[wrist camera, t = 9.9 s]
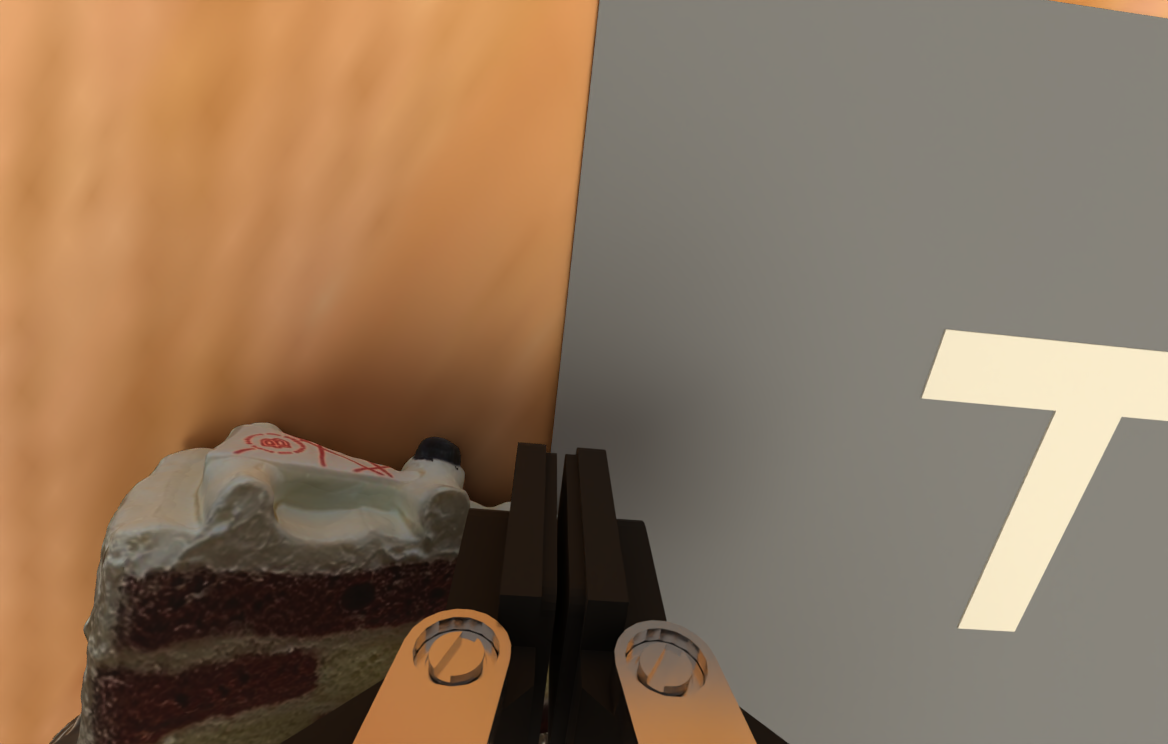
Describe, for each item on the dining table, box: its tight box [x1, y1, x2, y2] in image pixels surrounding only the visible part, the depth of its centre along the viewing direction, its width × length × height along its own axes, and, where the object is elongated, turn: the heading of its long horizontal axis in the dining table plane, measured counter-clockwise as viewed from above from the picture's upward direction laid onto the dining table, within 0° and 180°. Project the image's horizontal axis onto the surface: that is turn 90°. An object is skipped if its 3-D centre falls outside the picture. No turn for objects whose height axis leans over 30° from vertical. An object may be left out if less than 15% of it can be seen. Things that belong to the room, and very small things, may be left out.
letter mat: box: [551, 0, 1168, 744], centre depth 14 cm, size 20×24×1 cm
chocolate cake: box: [49, 423, 558, 744], centre depth 13 cm, size 10×7×12 cm
